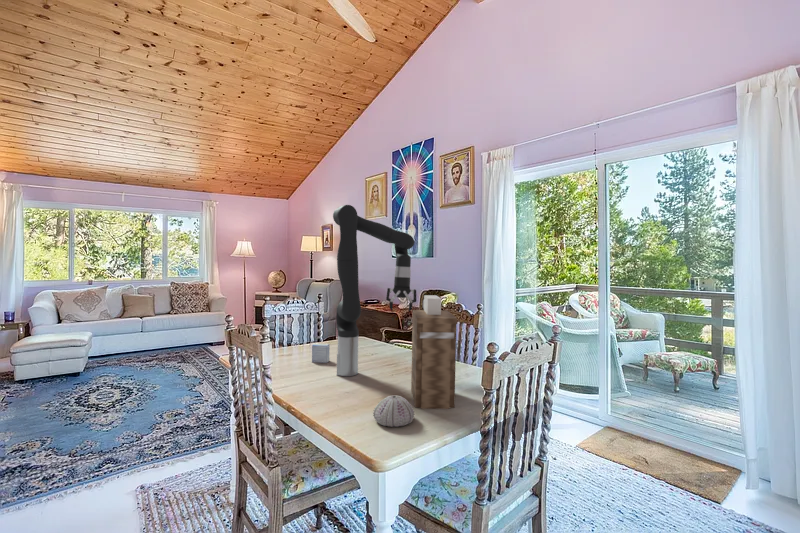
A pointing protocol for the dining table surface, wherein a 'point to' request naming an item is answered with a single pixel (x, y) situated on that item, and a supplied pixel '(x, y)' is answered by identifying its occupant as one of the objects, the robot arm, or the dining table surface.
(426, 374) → the shelf unit
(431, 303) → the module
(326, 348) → the medicine box
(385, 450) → the dining table surface
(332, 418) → the dining table surface
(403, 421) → the sea urchin shell
